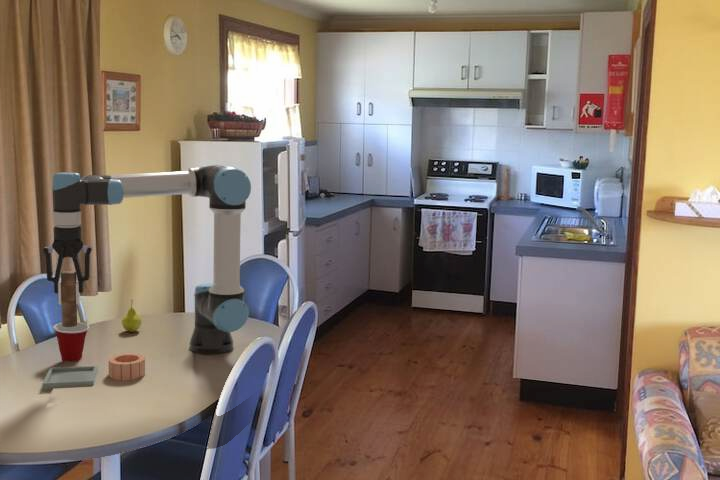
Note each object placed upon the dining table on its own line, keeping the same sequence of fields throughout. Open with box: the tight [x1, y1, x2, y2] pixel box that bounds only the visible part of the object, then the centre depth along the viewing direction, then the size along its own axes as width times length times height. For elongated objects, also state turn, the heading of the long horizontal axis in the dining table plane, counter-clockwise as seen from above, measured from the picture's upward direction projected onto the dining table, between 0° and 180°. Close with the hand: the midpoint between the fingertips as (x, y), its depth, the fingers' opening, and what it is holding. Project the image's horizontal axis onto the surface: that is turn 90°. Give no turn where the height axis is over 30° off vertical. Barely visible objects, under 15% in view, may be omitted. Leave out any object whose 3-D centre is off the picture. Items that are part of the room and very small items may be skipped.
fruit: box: [121, 299, 142, 333], centre depth 272 cm, size 7×7×12 cm
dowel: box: [60, 270, 78, 327], centre depth 216 cm, size 4×4×16 cm
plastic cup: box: [53, 321, 90, 364], centre depth 237 cm, size 11×11×12 cm
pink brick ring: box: [107, 352, 146, 381], centre depth 225 cm, size 11×11×6 cm
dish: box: [42, 364, 99, 392], centre depth 220 cm, size 14×14×2 cm
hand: (69, 303), depth 217 cm, fingers closed on dowel, 4 cm apart
